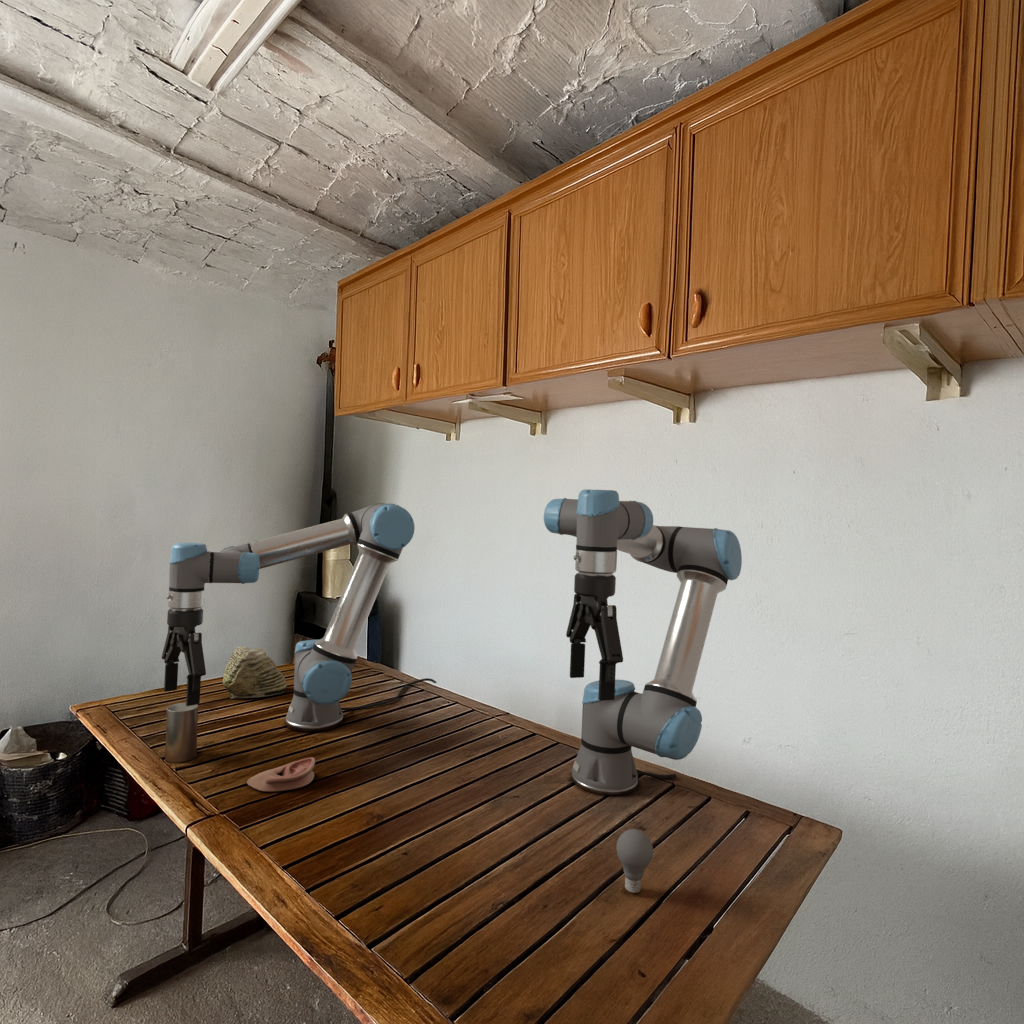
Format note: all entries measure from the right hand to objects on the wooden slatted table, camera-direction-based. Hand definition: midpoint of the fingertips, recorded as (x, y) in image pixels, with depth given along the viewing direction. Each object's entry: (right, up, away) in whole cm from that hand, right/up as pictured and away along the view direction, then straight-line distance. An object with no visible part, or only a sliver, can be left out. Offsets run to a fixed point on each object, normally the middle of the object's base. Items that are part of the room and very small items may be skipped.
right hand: (590, 688), depth 117 cm
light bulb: (+6, -31, -11) cm, 33 cm away
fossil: (-95, -25, +81) cm, 127 cm away
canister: (-93, -26, +34) cm, 102 cm away
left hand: (-93, -12, +33) cm, 99 cm away
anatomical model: (-66, -27, +23) cm, 75 cm away
